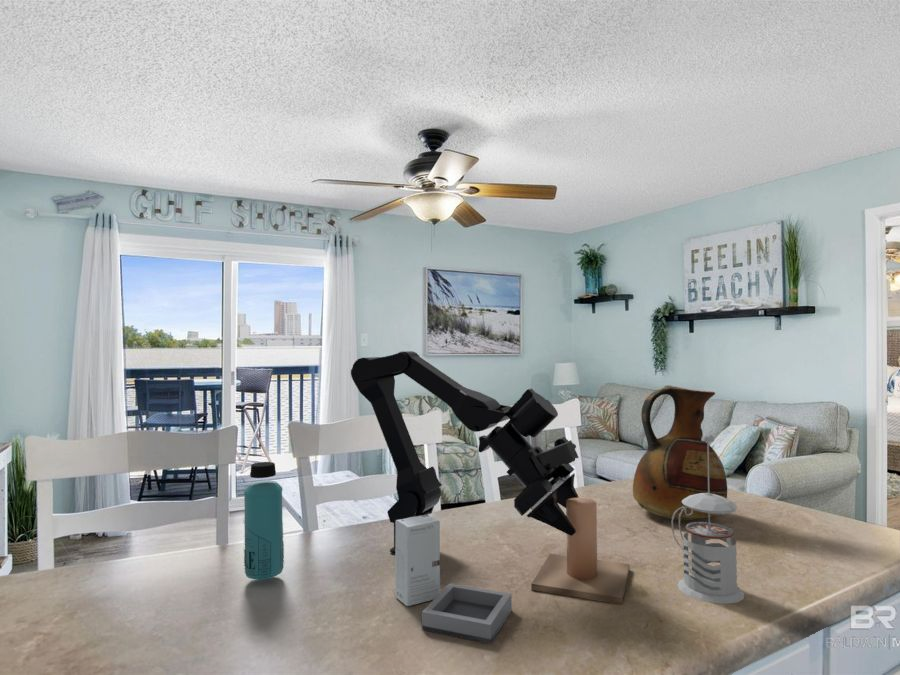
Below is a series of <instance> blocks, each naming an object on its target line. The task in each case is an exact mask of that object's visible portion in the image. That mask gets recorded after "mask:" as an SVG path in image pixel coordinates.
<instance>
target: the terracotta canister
mask: <svg viewBox="0 0 900 675" xmlns="http://www.w3.org/2000/svg"><path fill="white" fill-rule="evenodd" d="M597 507H598V506H597V501H596V500H594V499H591V498H587V497H579V498H570V499H567V500H566V508H565V515H566V516H567V518H568V519H569V521H570V522H571V524H572V525H573V527H574V528H575V530H576V532H575V533H574V534H573V535H572V536H571V535H568V534H566V533H565V534H566V535H565V536H566V539H565V540H566V556H567V574H568V575H569V576H571V577H573V578H577V579H585V580H586V579H593V578H595V577H597V560H598V528H597V526H598V522H597V521H598V520H597V518H598V517H597V513H598V511H597V509H598V508H597Z"/></svg>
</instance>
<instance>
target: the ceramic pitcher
mask: <svg viewBox="0 0 900 675" xmlns="http://www.w3.org/2000/svg"><path fill="white" fill-rule="evenodd" d="M715 394H716V392H714V391H707V390H695V389H688V388H682V387H678V386H673V385H671V384H670V385H664V386H663V387H661V388H659V389H656V390H654V391H652V392H651V393H650V394H649V395H648V396H646V398H645V399H644V402H643V404H642V408H641V422H642V427H643V431H644V435H645V438H646V439H645V440H646V442H647V449H646V451H645V453H644V454H643V455H642V456H641V458H640V460H639V462H638V464H637V465H636V466H637V467H636V469H635V472H634V476H633V482H632V496H633V498H634V500H635V501H636V502H637V504H638V506H640V508H641V509H643V510H645V511H648V512H649V513H650V514H654V515H656V516H659V517H662V518H666V519H670V520H672V516H673V514H674V512H675V511H676V510H677V509H678V508H681V507H686V506H685V505H684V504H683V503H682V500H683V499H685V498H686V497H688V496H690V495H694V494H699V493H708V456H707V442H705V441H701V439H702V436H703V435H704V434H703V433H704V432H703V429H702V423H703V421H704V419H705V406H706V404H707V402H708V401H709V400H710V399H711V398H712V397H714V396H715ZM664 395H667V396H670V397H671V398H672V400H673V404H674V417H673V422H672V425H671V427H670V429H669V431H668V433H667V434H666V435H663V436H661V437H658V438H657V437H656V435H655V433H654V430H653V427H652V422H651V412H652V408H653V405H654V403H655V401H656V400H657V399H658V398H660V396H664ZM709 491H710V493H711V494H716V495H719V496H722V497H724V498H726V499H728V482H727V475H726V471H725V467H724V464H723V463H722V460H721V459H720V457H719V455H718V454H717V452H716V451H715V449H714V448H713V447H712V446H711V445H710V444H709ZM682 509H684V508H682ZM682 509H679V510H678V511H677V512H676V514H675V516H674V519H673V521H679V515H680V513H681V511H682ZM691 511H692V509H689V508H686V513H687V514H690V513H691ZM718 515H720V514H711V513H710V518H712V517H716V516H718ZM700 518H701V519H703V518H705V519H706V518H708V513H705V512H700V511H695V510H693V514H691V515H689V516H687V515H685V510H683V512H682V514H681V516H680V521H690V520H693V521H694V520H697V519H700Z"/></svg>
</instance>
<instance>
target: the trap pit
mask: <svg viewBox="0 0 900 675" xmlns="http://www.w3.org/2000/svg"><path fill="white" fill-rule="evenodd" d="M512 598H513V597H512V593H509V592H503V591H497V590H493V589H492V590H491V589H485V588H480V587H474V586H473V587H472V586H467V585H461V584H454V583H448V584H447V585H446V586H445V587H444V589H443V590H442V591H440V594H439V595H438V596H437V597H436V598H435V599H433V600H431V602H430V603H429V604H427V606H426V607H425V608H424V609H423V610H422V611H421V621H422V622H421V626H422V627H421V628H422V629H421V630H422V631H425V632H429V633H436V634H441V635H446V636H450V637H456V638H461V639H465V640H469V641H475V642H479V643H484V644H490V645H491V644H492V642H493V641H494V639H495V638H496V636H497V635H498V633H499V632H500V630H501V628H502V627H503V625H504V623H505V622H506V620H507V619H508V618H509V616H510V614H511V612H512V610H513V608H512V607H513V606H512V605H513V603H512V601H513V600H512Z"/></svg>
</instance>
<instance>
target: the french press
mask: <svg viewBox="0 0 900 675" xmlns="http://www.w3.org/2000/svg"><path fill="white" fill-rule="evenodd" d="M701 441H705V442H707V456H708V493H699V494H694V495H690V496H688V497H686V498H685V499H683V500H682V503H683V504H684V505H685V506H686V507H681V508H678V509H677V510H676V511H675V512H674V514H673V516H672V519H671V532H672V535H673V538H674V541H675V543H676V544H677V545H678V547H679V548H680V549H681V550H682V551H683V578H682V579H680V580H679V581H678V583H677V588H678V589H679V590H680V592H681V593H683V594H685V595H686V596H688V597H691V598H693V599H696V600H698V601H702V602H706V603H710V604H711V603H712V604H721V605H722V604H723V605H724V604H725V605H726V604H727V605H729V604H730V605H731V604H736V603H739V602H741V601H742V600H744V599H745V592H744V591H742V590H741V588H740V587H739V586H738V582H737V580H738V574H737V573H738V567H737V562H738V561H737V540H736V539H735V538H734V537H733V536H734V535H735V531H734V530H733V529H732V528H730V527H729V526H725V525H723V524H718V523H713V522H711V517H710V513H711V514H719V515H725V514H732V513H735V512H736V511H737V509H738V505H736V504H735V503H734V502H732V501H731V500H729V499H728V498H727V499H726V498H724V497H722V496H719V495H716V494H711V493H710V491H709V445H710V444H709V443H711V442H712V443H714V441H715V437H714V436H713V435H712V434H711V433H704V434H703V436H702V439H701ZM682 508H684V509H682ZM686 508H689V509H692V511H691V513H690V514H687V513H686ZM679 509H682V511H681V513H680V515H679V520H678V531H679V534H680V537H681V540H682V542H683V545H682V546H683V547H682V546H681V544H680V543H679V542H678V539H677V538H676V535H675V529H674V520H673V519H674V516H675V514H676V512H677V511H678V510H679ZM683 510H685V515H687V516H689V515H691V514H693V510H695V511H700V512H705V513H708V517H707V518H708V522H707V521H705V522H704V521H694V522H689V523H687V524H686V525H685V526H684V527H685V530H686V531H687V532H685V533H684V534H682V529H681V520H680V516H681V514H682V512H683ZM689 534H690V536H691V537H690V538H691V541H690V540H689ZM709 540H720V541H722V542H724V543H726V544H727V545H728V546H727V545H725V544H722V543H720V542H709V543H706V542H707V541H709ZM689 549H690V550H691V551H689ZM689 557H690V559H691V560H690V559H689ZM711 563H717V564H718V563H719V564H718V565H710V564H711ZM690 566H691V568H690Z"/></svg>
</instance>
